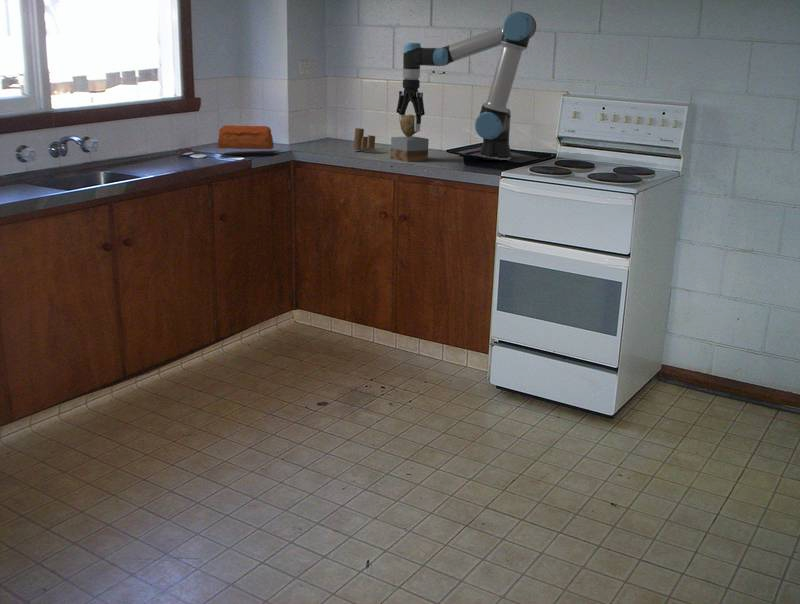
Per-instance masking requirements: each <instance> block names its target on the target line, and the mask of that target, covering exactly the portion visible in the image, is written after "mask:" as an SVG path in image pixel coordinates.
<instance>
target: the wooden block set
mask: <svg viewBox="0 0 800 604" xmlns="http://www.w3.org/2000/svg"><path fill="white" fill-rule="evenodd" d="M364 133H365V129H364V128H360V127H357V128H354V140H353V150H354V151H362V150H364V151H368V150H374V149H375V143H376V136H375V135H370V134H369V135H367V136H364Z"/></svg>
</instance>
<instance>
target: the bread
mask: <svg viewBox="0 0 800 604" xmlns="http://www.w3.org/2000/svg"><path fill="white" fill-rule="evenodd" d="M217 149H231V150H233V149H236V150H273V149H274V139H273V135H272V129H271V127H269V126H266V125H256V126H255V125H235V124H232V125H230V124H229V125H228V124H227V125H223V126H221V127H220V128H219V134H218V140H217Z"/></svg>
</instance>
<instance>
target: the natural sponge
mask: <svg viewBox="0 0 800 604" xmlns="http://www.w3.org/2000/svg"><path fill="white" fill-rule="evenodd" d="M405 115H406V116H404V117H403V118H402V119H401V121H400V120H399V127H400V126H401V129H402V130H401V132H402V133H403V135H404V137H411V136H414V134H416V133H418V132H419V131H416V132H415V131H414V126H415V115H414V114H410V113H409V114H405Z"/></svg>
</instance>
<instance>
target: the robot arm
mask: <svg viewBox="0 0 800 604" xmlns="http://www.w3.org/2000/svg"><path fill="white" fill-rule="evenodd" d="M536 31H537V22H536V20H535V18H534V16H533V15H531V14H530V13H527V12H524V11H520V10H518V11H514V12H511V13H509V14H508V15H507V16H506V17H505V19H504V20H503V23H502V25H501V26H498V27H496V28H495V27H494V28H491V29H490V30H487V31H483V32H482V33H479V34H475V35H473V36H470V37H467V38H464V39H462V40H460V41H457V42H453V43H451V44H448V45H446V46H443V47H422V46H421V43H420V42H405V43H404V44H403V52H402V54H403V57H402V59H403V63H402V64H403V65H402V67H403V68H402V78H403V79H402V88H403V90H399V91H398V101H397V106H396V113H398V115H399V122H400V121H401V119H402V118H403V117H404V116H406V115H407V114H406V113H407V109H408V106H409V103H412V105H413V109H414V113H415V115H414V116H415V126H414V131H415V132H416V131H418V132H421V123H422V116H425V114H426V113H425V107H424V106H425V105H424V98H423V97H424V93H423V92H420V91H419V90H418V89H420V87H421V86H420V85H421V84H420V83H421V81H420V78H421V77H420V75H421V66H430V67H431V66H432V67H445V66H447V65H450V64H451V63H454V62H456V61H460V60H463V59H466V58H468V57H470V56H471V57H472V56H474V55H476V54H479V53H482V52H485V51H488V50H490V49H494V48H497V47H500V46H501V50H500V51H501V52H500V55H499V58H498V62H497V65H496V68H495V72H494V75H493V80H492V81H491V82H492V83H491V85H490V89H489V90H490V91H489V93H488V96H487V99H486V101H485V102H484V103H482V105H481V109H480V112H479V115H478V116H477V117H476V119H475V121H474V129H475V131H476V133H477V135H478V136H480V137H481V138H482V144H481V147H480V151H479V153H478V155H479V154H481V155H485V156H489V157H498V158H508V157H512V158H513V154H512V152H511V147H510V129H511V127H510V125H511V116H512V114H511V110H510V109H509V108H507V105H508V101H509V97H510V94H511V91H512V88H513V85H514V84H513V83H514V81H515V77H516V73H517V71H518V67H519V65H520V60H521V57H522V54H523V52H524V51H525V50H527V49H528V46H529V42H530V39H532V38H533V36H535V33H536ZM399 130H401V131H402V129H401V126H400V125H399Z"/></svg>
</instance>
